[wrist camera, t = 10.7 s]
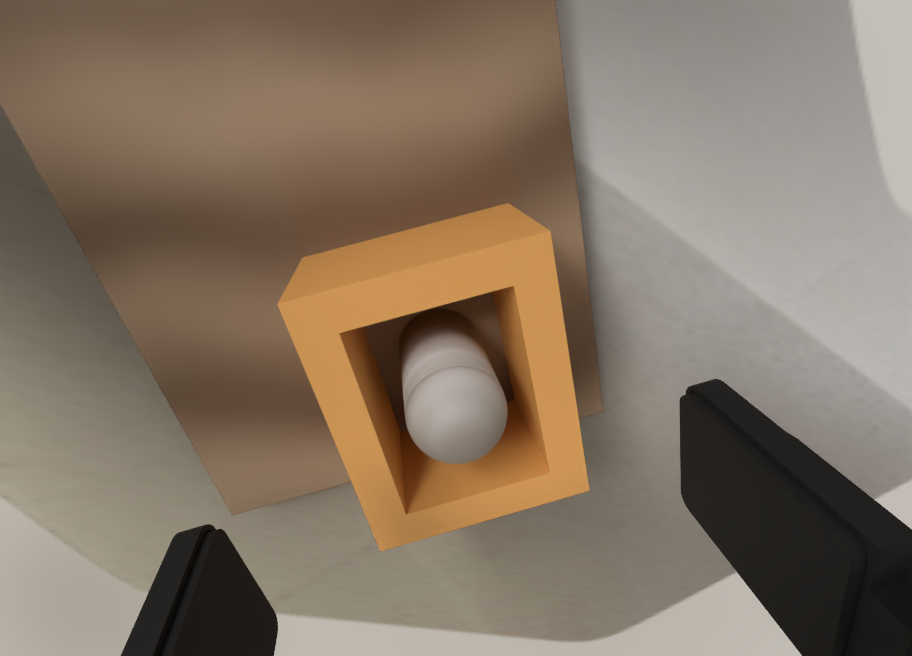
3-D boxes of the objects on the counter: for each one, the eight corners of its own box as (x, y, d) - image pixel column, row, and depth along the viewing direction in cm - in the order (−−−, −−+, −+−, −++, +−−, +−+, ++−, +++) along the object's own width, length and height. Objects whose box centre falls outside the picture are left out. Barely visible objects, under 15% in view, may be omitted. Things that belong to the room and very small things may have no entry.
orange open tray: (302, 257, 16) (277, 304, 12) (508, 203, 17) (550, 230, 13) (380, 463, 20) (380, 551, 16) (547, 415, 20) (589, 490, 16)
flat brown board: (-109, -160, 12) (-704, -499, 6) (501, -292, 13) (635, -741, 6) (241, 489, 22) (177, 663, 15) (589, 393, 22) (683, 516, 15)
